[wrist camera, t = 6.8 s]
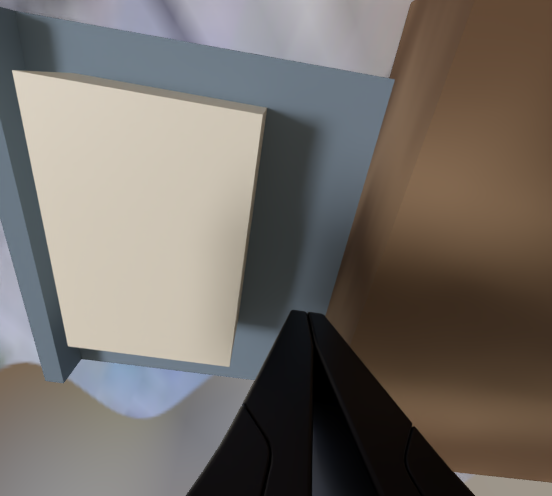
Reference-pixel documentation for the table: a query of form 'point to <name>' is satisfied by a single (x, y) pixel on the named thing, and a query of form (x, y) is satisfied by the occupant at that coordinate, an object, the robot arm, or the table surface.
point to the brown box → (461, 237)
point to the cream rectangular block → (143, 211)
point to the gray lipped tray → (270, 183)
